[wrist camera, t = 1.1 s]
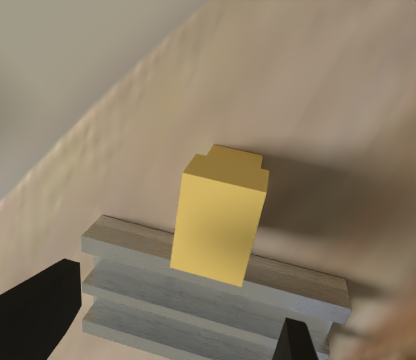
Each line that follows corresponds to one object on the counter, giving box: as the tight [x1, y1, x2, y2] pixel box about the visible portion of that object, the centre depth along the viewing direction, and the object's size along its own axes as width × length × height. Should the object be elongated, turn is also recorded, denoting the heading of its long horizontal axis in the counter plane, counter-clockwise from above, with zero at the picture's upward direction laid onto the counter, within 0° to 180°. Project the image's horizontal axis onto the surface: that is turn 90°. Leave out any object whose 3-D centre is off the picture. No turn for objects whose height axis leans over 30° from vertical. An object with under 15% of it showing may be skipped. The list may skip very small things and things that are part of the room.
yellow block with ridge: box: [170, 145, 269, 287], centre depth 17 cm, size 4×5×5 cm
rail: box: [81, 215, 352, 360], centre depth 22 cm, size 16×8×2 cm, turn 81°
